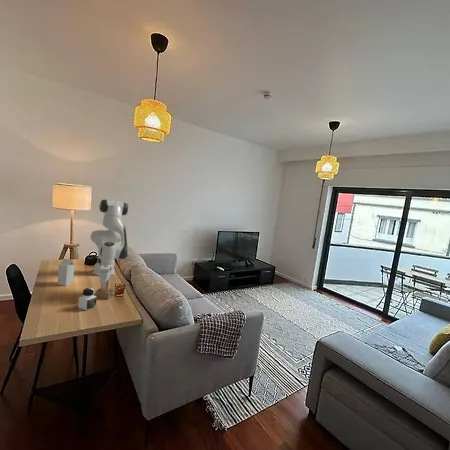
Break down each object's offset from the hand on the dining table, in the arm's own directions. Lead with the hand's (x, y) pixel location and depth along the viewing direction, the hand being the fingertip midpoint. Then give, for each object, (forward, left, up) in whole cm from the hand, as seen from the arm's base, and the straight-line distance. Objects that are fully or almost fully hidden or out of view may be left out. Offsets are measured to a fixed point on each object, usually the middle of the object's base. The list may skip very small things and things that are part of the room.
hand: (105, 284), depth 182 cm
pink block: (0, 0, -4) cm, 4 cm away
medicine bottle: (+19, -6, -9) cm, 22 cm away
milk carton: (-20, -32, -9) cm, 39 cm away
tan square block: (0, 0, -9) cm, 9 cm away
